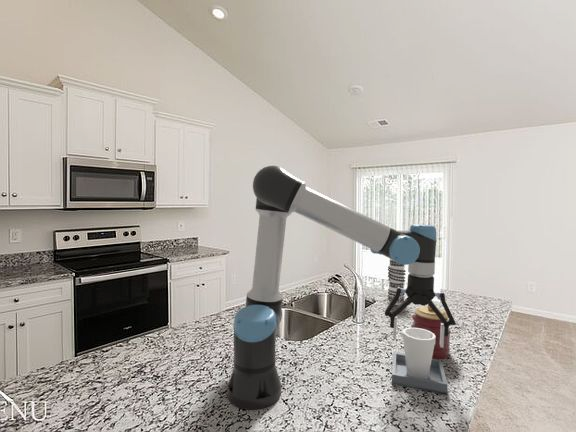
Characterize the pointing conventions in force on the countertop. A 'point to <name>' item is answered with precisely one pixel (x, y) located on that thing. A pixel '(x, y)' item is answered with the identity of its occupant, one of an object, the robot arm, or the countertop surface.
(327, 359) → the countertop surface
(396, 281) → the decorative candle
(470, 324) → the countertop surface
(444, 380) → the tray
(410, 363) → the foam cup
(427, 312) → the canister
